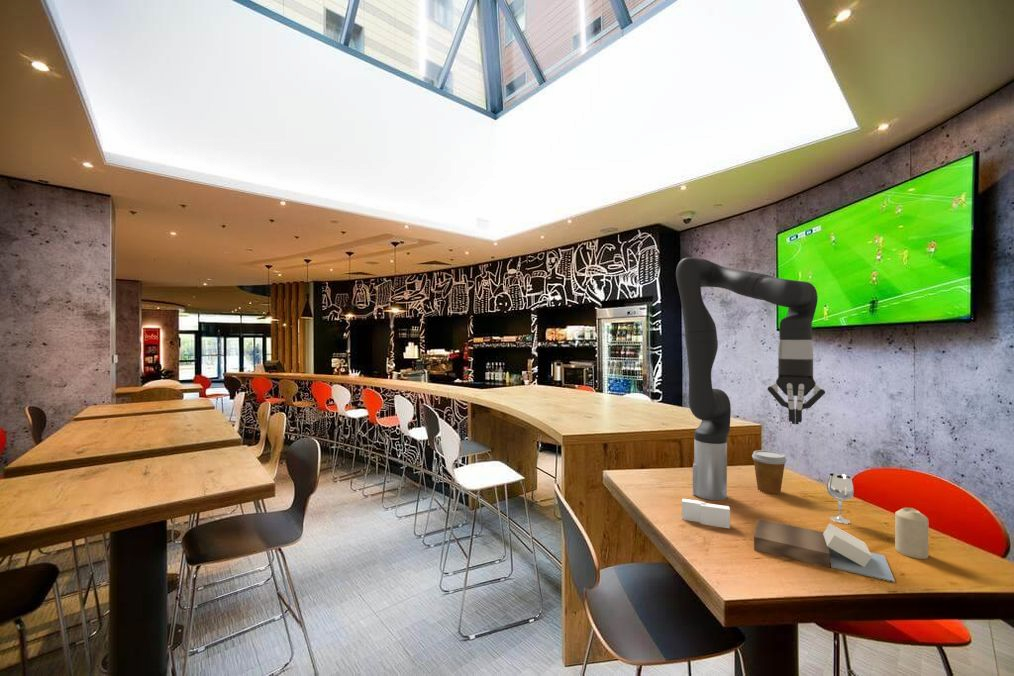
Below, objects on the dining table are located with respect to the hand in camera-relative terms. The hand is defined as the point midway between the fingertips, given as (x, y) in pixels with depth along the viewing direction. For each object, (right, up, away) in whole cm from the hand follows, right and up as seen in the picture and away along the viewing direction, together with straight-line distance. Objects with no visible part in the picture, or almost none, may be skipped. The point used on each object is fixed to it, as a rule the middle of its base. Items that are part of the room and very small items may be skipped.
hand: (795, 423), depth 110 cm
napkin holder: (-22, -28, +4) cm, 36 cm away
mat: (+2, -27, -17) cm, 32 cm away
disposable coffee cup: (+9, -27, +26) cm, 39 cm away
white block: (0, -25, -15) cm, 29 cm away
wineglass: (+15, -27, +4) cm, 31 cm away
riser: (-8, -27, -11) cm, 30 cm away
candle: (+18, -27, -13) cm, 35 cm away
